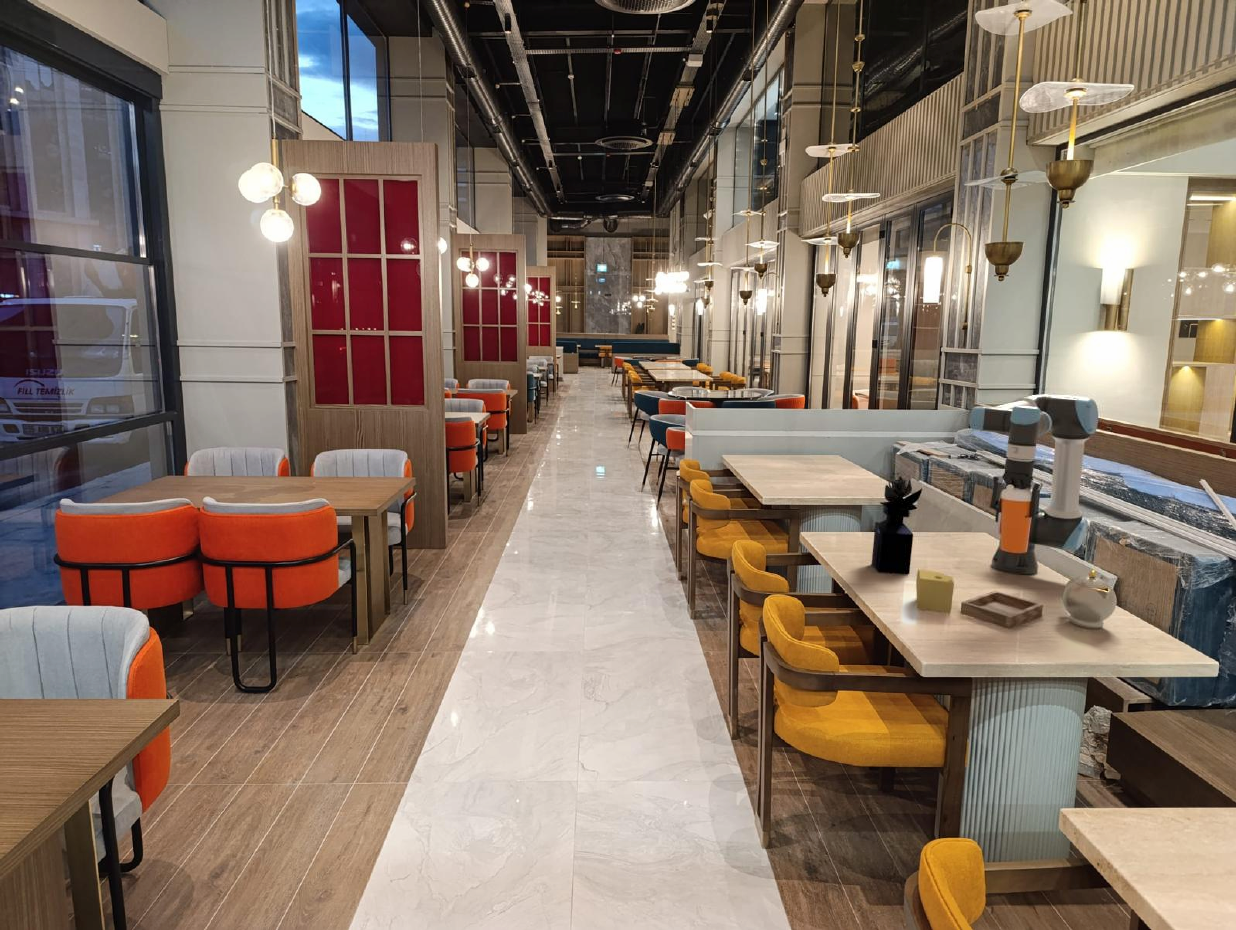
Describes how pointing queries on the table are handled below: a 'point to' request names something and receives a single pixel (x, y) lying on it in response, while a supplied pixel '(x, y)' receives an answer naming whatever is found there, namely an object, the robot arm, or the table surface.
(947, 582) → the cheese
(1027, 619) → the tray
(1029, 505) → the shaker bottle
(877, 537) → the vase
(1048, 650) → the table surface
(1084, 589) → the teapot
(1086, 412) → the robot arm
